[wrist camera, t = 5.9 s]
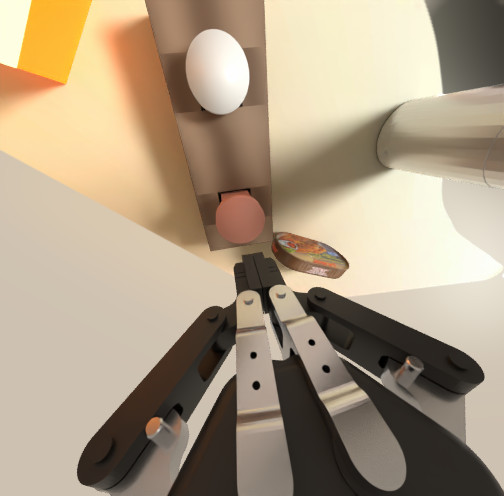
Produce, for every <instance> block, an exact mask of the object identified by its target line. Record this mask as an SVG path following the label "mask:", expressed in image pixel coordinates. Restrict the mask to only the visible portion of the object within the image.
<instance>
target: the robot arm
mask: <svg viewBox="0 0 504 496" xmlns="http://www.w3.org/2000/svg"><path fill="white" fill-rule="evenodd" d="M377 156H378V159H379V161H380V163H381V164H383V165H384V166H386V167H388V168H393V169H398V170H403V171H408V172H413V173H418V174H424V175H429V176H434V177H439V178H444V179H450V180H455V181H460V182H465V183H470V184H476V185H481V186H486V187H491V188H497V189H502V190H504V84H501V85H495V86H489V87H484V88H478V89H472V90H466V91H461V92H455V93H450V94H443V95H437V96H431V97H426V98H420V99H414V100H411V101H408V102H406V103H404V104H403V105H401V106H400V107H398V108H397V109H396V110H395V111H394V112H393V113H392V114H391V115H390V117H389V118H388V119H387V121H386V122H385V124H384V125H383V127H382V130H381V132H380V134H379V137H378V141H377ZM242 261H243V262H241V263H236V264H235V266H234V275H235V282H236V290H237V298H236V300H235V302H234V303H233V304H231V305H230V306H228V307H226V308H224V309H223V308H222V307H219V306H212V307H209V308H207V309H206V310H204V311H203V312H202V313H201V315H200V316H199V317H198V318H197V319H196V320H195V322H194V323H193V324H192V325H191V326H190V327H189V328H188V329H187V331H186V332H185V333H184V334H183V335H182V336H181V337H180V339H179V340H178V341H177V342H176V343H175V344H174V345H173V346H172V348H171V349H170V350H169V351H168V352H167V353H166V354H165V355H164V357H163V358H162V359H161V360H160V361H159V362H158V364H157V365H156V366H155V367H154V368H153V369H152V370H151V371H150V372H149V374H148V375H147V376H146V377H145V378H144V379H143V380H142V382H141V383H140V384H139V385H138V386H137V387H136V388H135V390H134V391H133V392H132V393H131V394H130V395H129V396H128V398H127V399H126V400H125V401H124V402H123V403H122V404H121V405H120V407H119V408H118V409H117V410H116V411H115V412H114V413H113V415H112V416H111V417H110V418H109V419H108V420H107V421H106V422H105V424H104V425H103V426H102V427H101V428H100V429H99V431H98V432H97V433H96V434H95V435H94V436H93V437H92V439H91V440H90V441H89V442H88V444H87V446H86V447H85V449H84V451H83V453H82V455H81V457H80V460H79V463H78V468H77V476H78V480H79V481H80V483H81V484H83V485H86V486H90V487H93V488H95V489H96V490H98V491H101V492H105V493H109V494H110V495H111V496H504V491H503V490H502V488H501V486H500V484H499V483H498V481H497V480H496V479H495V477H494V476H493V474H492V473H491V472H490V470H489V469H488V468H487V466H486V465H485V464H484V463H483V461H482V460H481V459H480V458H479V457H478V456H477V455H476V454H475V453H474V452H473V451H472V450H471V449H470V448H469V447H468V446H467V445H466V434H465V433H466V432H465V431H466V430H465V395H466V394H467V393H468V392H470V391H471V390H472V389H474V388H475V387H476V386H478V385H479V384H480V383H481V382H483V381H484V373H483V371H482V369H481V367H480V366H479V365H478V364H477V362H476V361H474V360H473V359H472V358H471V357H470V356H468V355H467V354H466V353H464V352H462V351H460V350H458V349H456V348H454V347H452V346H450V345H447V344H445V343H443V342H441V341H439V340H437V339H434V338H432V337H430V336H428V335H425V334H423V333H421V332H419V331H417V330H415V329H412V328H410V327H408V326H405V325H404V324H401V323H399V322H397V321H395V320H393V319H391V318H388V317H386V316H384V315H382V314H379V313H377V312H375V311H373V310H371V309H369V308H366V307H364V306H362V305H360V304H358V303H355V302H353V301H351V300H349V299H347V298H344V297H342V296H340V295H338V294H336V293H333V292H331V291H329V290H327V289H325V288H321V287H314V288H311V289H310V290H309V291H308V293H298V292H294V291H292V290H291V289H290V288H289V287H288V286H286V284H285V282H284V280H283V278H282V275H281V273H280V271H279V269H278V267H277V265H276V263H275V261H274V260H273V259H271V258H264V256H263V253H262V252H260V253H254V254H248V255H242ZM264 312H265V314H267V313H269V315H270V323H271V326H272V329H273V332H274V334H275V337H276V340H277V342H278V344H279V347H280V350H281V353H282V357H283V361H279V360H272V359H271V353H270V347H269V342H268V336H267V330H266V327H265V323H264V317H263V314H264ZM235 344H236V368H237V370H236V372H237V374H236V375H234V376H233V377H232V378H231V379H230V380H229V381H228V382H227V384H226V385H225V386H224V388H223V389H222V391H221V393H220V394H219V397H218V398H217V400H216V402H215V404H214V406H213V408H212V410H211V412H210V414H209V416H208V418H207V419H206V421H205V423H204V425H203V427H202V429H201V431H200V433H199V435H198V437H197V439H196V441H195V443H194V445H193V447H192V448H191V450H190V452H189V454H188V456H187V458H186V460H185V462H184V464H183V466H182V468H181V469H180V471H179V466H180V462H181V459H182V456H183V453H184V451H185V449H186V446H187V443H188V439H189V430H188V426H187V424H186V423H187V421H188V419H189V418H190V416H191V414H192V413H193V411H194V409H195V408H196V406H197V405H198V403H199V401H200V400H201V398H202V396H203V395H204V393H205V392H206V390H207V388H208V387H209V385H210V383H211V382H212V380H213V378H214V377H215V375H216V374H217V372H218V370H219V369H220V367H221V365H222V364H223V362H224V361H225V359H226V357H227V356H228V354H229V352H230V351H231V349H232V346H233V345H235ZM334 349H335V350H336V351H338V352H339V353H341V354H343V355H344V356H346V357H347V358H349V359H350V360H352V361H354V362H355V363H357V364H358V365H360V366H362V367H363V368H364V369H366V370H368V371H369V372H371V373H372V374H374V375H375V376H377V377H379V378H380V379H381V380H382V383H383V385H384V386H383V385H381V384H380V383H379V382H377V381H376V380H374V379H373V378H371V377H370V376H368V375H367V374H365V373H364V372H362V371H361V370H360V369H358V368H357V367H355V366H354V365H352V364H351V363H349V362H348V361H346V360H345V359H343V358H340V357H339V356H338V355H337V353H336V352H335V350H334Z"/></svg>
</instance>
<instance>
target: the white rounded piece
mask: <svg viewBox="0 0 504 496" xmlns="http://www.w3.org/2000/svg"><path fill="white" fill-rule="evenodd" d="M186 76H187V80H188V84H189V87H190V89H191V91H192V93H193V95H194V97H195V98H196V100H197V101H198V103H199V104H200V105H201V106H202V107H203V108H204V109H205V110H207V111H209V112H210V113H213V114H216V115H227V114H230V113H232V112H233V111H235V110H236V109H237V108H238V107H239V106H240V104H241V103H242V102H243V100H244V98H245V96H246V94H247V90H248V86H249V67H248V63H247V59H246V56H245V54H244V52H243V50H242V48H241V46H240V45H239V44H238V42H237V41H236V40H235V39H234V38H233V37H232V36H231V35H229V34H228V33H226V32H224V31H222V30H218V29H209V30H205V31H203V32H201V33H200V34H198V35H197V36H196V37H195V38H194V40H193V41H192V43H191V44H190V47H189V49H188V52H187V56H186Z"/></svg>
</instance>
